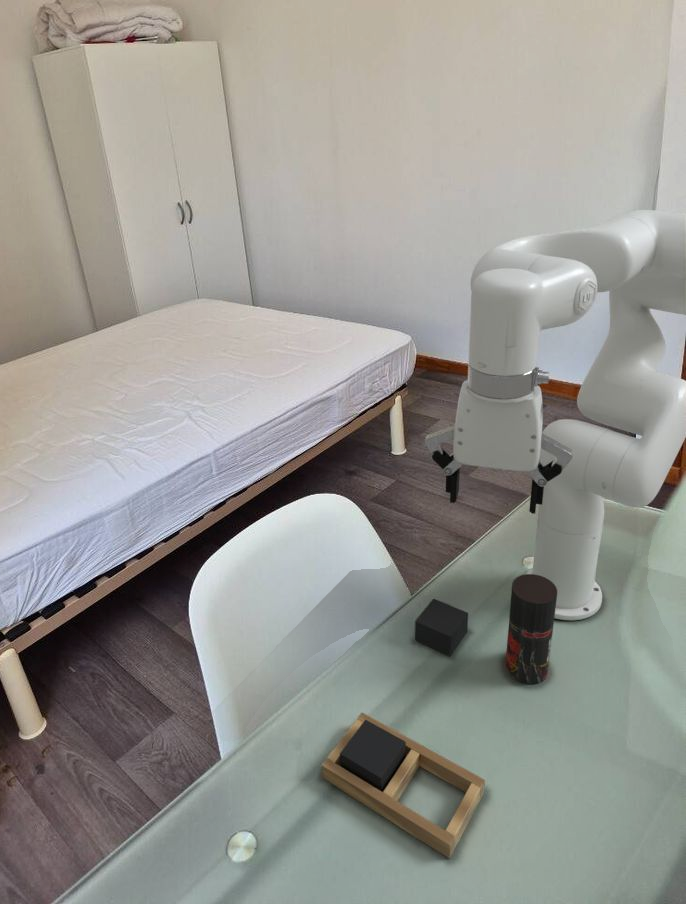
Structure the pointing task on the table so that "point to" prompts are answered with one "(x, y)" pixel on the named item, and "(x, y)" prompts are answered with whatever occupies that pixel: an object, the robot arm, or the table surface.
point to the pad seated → (373, 755)
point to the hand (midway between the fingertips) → (492, 502)
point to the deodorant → (530, 628)
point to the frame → (388, 799)
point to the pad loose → (441, 627)
